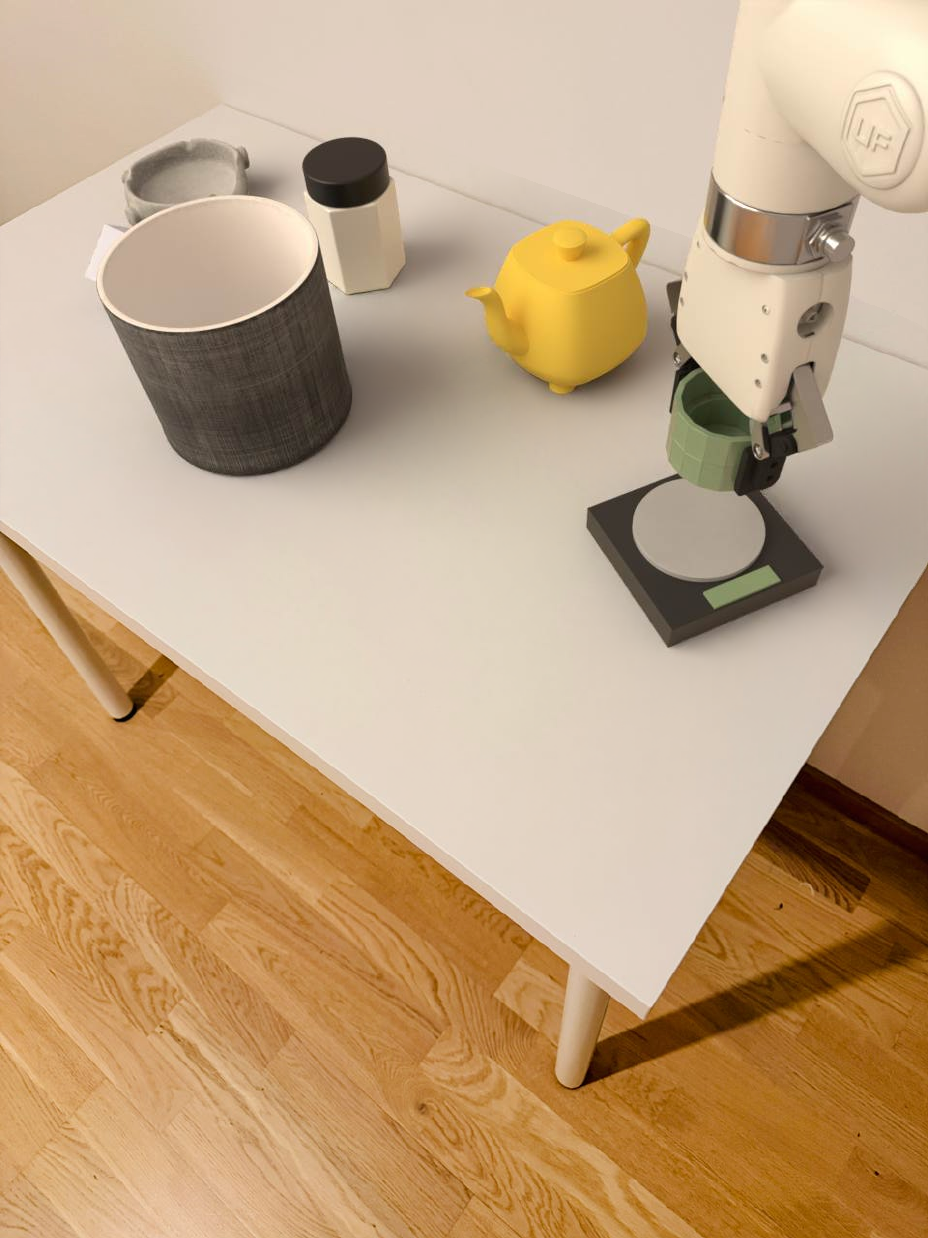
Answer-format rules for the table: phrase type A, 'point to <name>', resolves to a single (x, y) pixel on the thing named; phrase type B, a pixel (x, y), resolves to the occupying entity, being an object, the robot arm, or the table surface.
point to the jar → (354, 213)
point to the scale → (700, 554)
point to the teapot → (569, 301)
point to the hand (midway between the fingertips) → (722, 445)
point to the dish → (183, 176)
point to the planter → (230, 331)
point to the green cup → (708, 433)
